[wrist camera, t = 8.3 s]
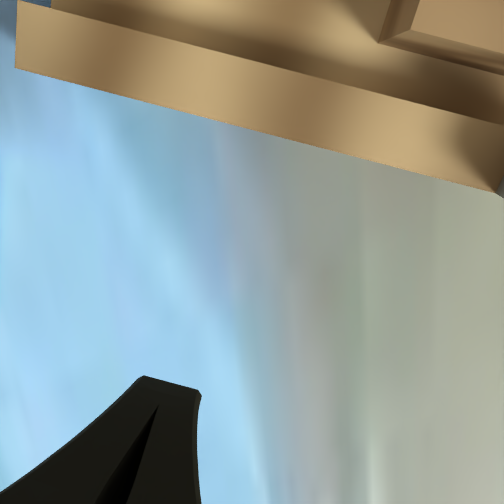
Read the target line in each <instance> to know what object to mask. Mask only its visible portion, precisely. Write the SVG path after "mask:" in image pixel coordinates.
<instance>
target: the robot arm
mask: <svg viewBox="0 0 504 504" xmlns="http://www.w3.org/2000/svg"><path fill="white" fill-rule="evenodd" d="M201 397H202V395H201V394H200V392H199V391H198V390H196V389H193V388H189V387H185V386H181V385H178V384H174V383H170V382H166V381H163V380H159V379H155V378H151V377H148V376H142V377H140V378H138V379H137V380H136V381H135V382H134V383H133V384H132V385H131V386H130V387H129V388H128V389H127V390H126V391H125V392H124V393H123V394H122V395H121V396H120V397H119V398H118V399H117V400H116V401H115V402H114V403H113V404H112V405H111V406H110V407H108V408H107V409H106V410H105V411H104V412H103V413H102V414H101V415H100V416H99V417H97V418H96V419H95V420H94V421H93V422H92V423H90V424H89V425H88V426H87V427H86V428H84V429H83V430H82V431H81V432H80V433H79V434H77V435H76V436H75V437H74V438H73V439H71V440H70V441H69V442H68V443H67V444H65V445H64V446H63V447H61V448H60V449H59V450H57V451H56V452H55V453H54V454H52V455H51V456H50V457H48V458H47V459H46V460H44V461H43V462H42V463H40V464H39V465H38V466H37V467H35V468H34V469H33V470H31V471H30V472H28V473H27V474H26V475H24V476H23V477H21V478H20V479H19V480H17V481H16V482H14V483H13V484H11V485H10V486H9V487H7V488H6V489H4V490H3V491H1V492H0V504H201V497H200V487H199V475H198V459H197V421H198V410H199V405H200V401H201Z"/></svg>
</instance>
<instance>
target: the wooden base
mask: <svg viewBox="0 0 504 504" xmlns="http://www.w3.org/2000/svg"><path fill="white" fill-rule="evenodd" d="M390 2H391V0H51V8H48V7H44V6H40V5H36V4H32V3H28V2H25V1H21V0H17V25H16V50H15V68H17V69H21V70H25V71H29V72H32V73H36V74H40V75H44V76H48V77H52V78H56V79H59V80H63V81H67V82H71V83H75V84H79V85H82V86H86V87H90V88H94V89H98V90H102V91H105V92H109V93H113V94H117V95H121V96H125V97H128V98H132V99H136V100H140V101H144V102H148V103H151V104H155V105H159V106H163V107H167V108H171V109H174V110H178V111H182V112H186V113H190V114H194V115H197V116H201V117H205V118H209V119H213V120H217V121H220V122H224V123H228V124H232V125H236V126H240V127H243V128H247V129H251V130H255V131H259V132H263V133H266V134H270V135H274V136H278V137H282V138H286V139H290V140H293V141H297V142H301V143H305V144H309V145H313V146H316V147H320V148H324V149H328V150H332V151H336V152H339V153H343V154H347V155H351V156H355V157H359V158H362V159H366V160H370V161H374V162H378V163H382V164H385V165H389V166H393V167H397V168H401V169H405V170H408V171H412V172H416V173H420V174H424V175H428V176H431V177H435V178H439V179H443V180H447V181H451V182H454V183H458V184H462V185H466V186H470V187H474V188H477V189H481V190H485V191H489V192H493V193H496V194H498V195H499V196H501V197H503V198H504V76H502V75H498V74H494V73H490V72H487V71H483V70H479V69H475V68H471V67H467V66H463V65H459V64H456V63H452V62H448V61H444V60H440V59H436V58H432V57H429V56H425V55H421V54H417V53H413V52H409V51H405V50H401V49H398V48H394V47H390V46H386V45H382V44H378V40H379V37H380V34H381V31H382V27H383V24H384V21H385V18H386V15H387V11H388V8H389V5H390Z"/></svg>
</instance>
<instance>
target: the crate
mask: <svg viewBox="0 0 504 504" xmlns="http://www.w3.org/2000/svg"><path fill="white" fill-rule="evenodd" d="M378 44H382V45H386V46H390V47H394V48H398V49H401V50H405V51H409V52H413V53H417V54H421V55H425V56H429V57H432V58H436V59H440V60H444V61H448V62H452V63H456V64H459V65H463V66H467V67H471V68H475V69H479V70H483V71H487V72H490V73H494V74H498V75H502V76H504V0H391V2H390V5H389V8H388V11H387V15H386V18H385V21H384V24H383V27H382V31H381V34H380V37H379V40H378Z"/></svg>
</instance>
